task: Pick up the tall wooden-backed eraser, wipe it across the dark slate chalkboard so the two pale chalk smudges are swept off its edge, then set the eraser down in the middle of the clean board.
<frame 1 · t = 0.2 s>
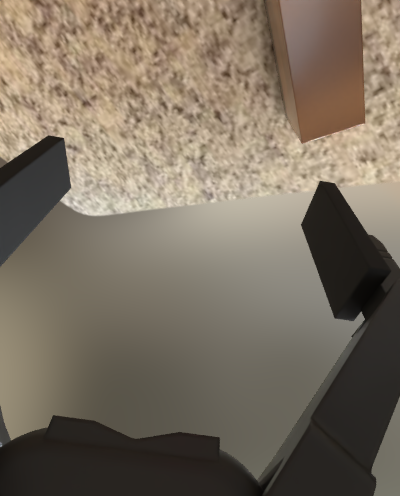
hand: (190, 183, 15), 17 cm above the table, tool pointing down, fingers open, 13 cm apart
eraser: (299, 37, 25), on the table
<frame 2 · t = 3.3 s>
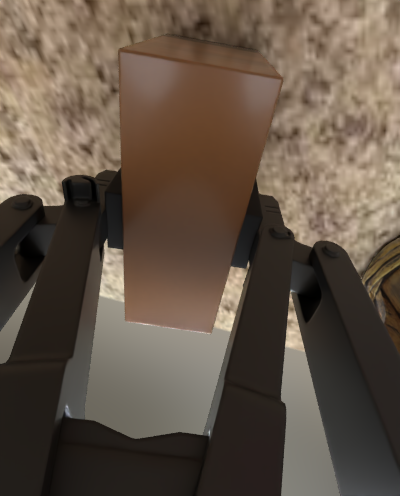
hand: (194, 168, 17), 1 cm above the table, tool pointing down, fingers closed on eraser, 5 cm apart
eraser: (195, 160, 18), on the table, touching gripper
wooden mug: (392, 269, 22), on the table
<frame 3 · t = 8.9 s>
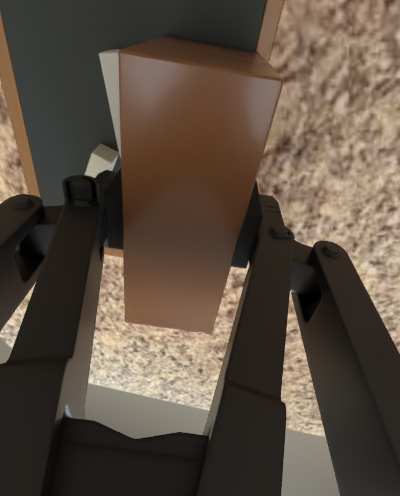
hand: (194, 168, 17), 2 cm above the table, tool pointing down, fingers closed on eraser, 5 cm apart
chalk streak 1: (129, 103, 16), point 1 cm above the table, touching gripper
chalkboard: (133, 141, 19), on the table
eraser: (195, 161, 18), point 1 cm above the table, touching gripper
chalk streak 2: (98, 180, 19), point 1 cm above the table, touching chalkboard
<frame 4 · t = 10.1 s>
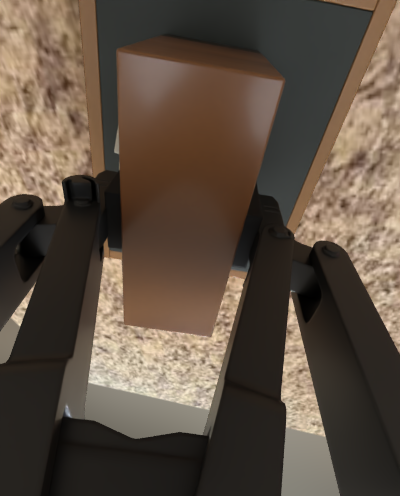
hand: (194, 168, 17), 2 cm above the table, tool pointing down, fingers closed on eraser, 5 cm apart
chalkboard: (206, 156, 19), on the table
eraser: (195, 161, 18), point 1 cm above the table, touching gripper
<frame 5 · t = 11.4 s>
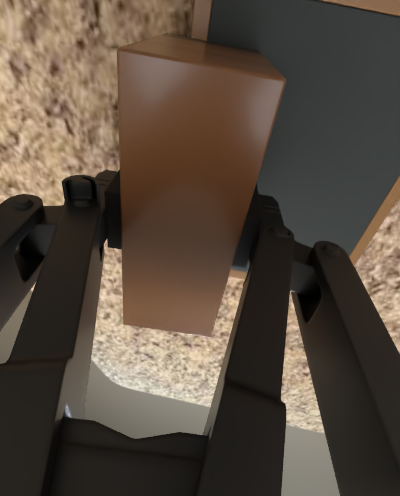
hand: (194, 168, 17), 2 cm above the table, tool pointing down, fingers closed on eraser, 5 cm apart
chalkboard: (287, 170, 19), on the table
eraser: (195, 161, 18), point 1 cm above the table, touching gripper
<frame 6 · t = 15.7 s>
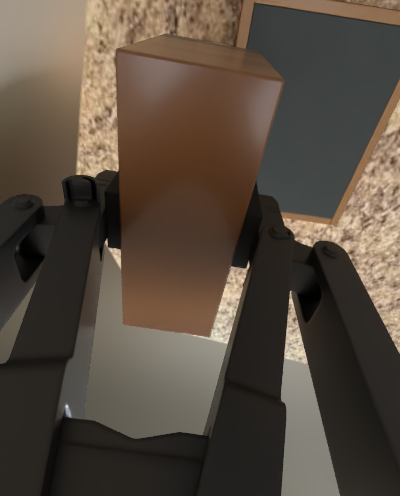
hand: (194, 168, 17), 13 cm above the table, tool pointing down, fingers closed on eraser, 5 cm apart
chalkboard: (298, 128, 27), on the table
eraser: (195, 161, 18), point 12 cm above the table, touching gripper
when the fingers open (2 cm above the table, at t = 19.2 s): eraser stays where it is, resting on chalkboard.
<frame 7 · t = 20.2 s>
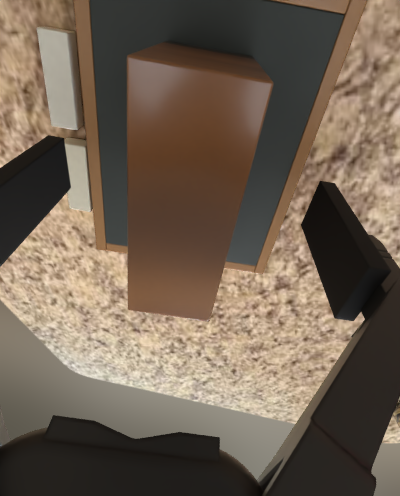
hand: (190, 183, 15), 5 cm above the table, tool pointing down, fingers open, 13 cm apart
chalk streak 1: (76, 84, 17), point 1 cm above the table, tilted 90°
chalkboard: (196, 151, 20), on the table
eraser: (194, 159, 19), point 1 cm above the table, touching chalkboard
chalk streak 2: (91, 178, 21), point 1 cm above the table, tilted 90°
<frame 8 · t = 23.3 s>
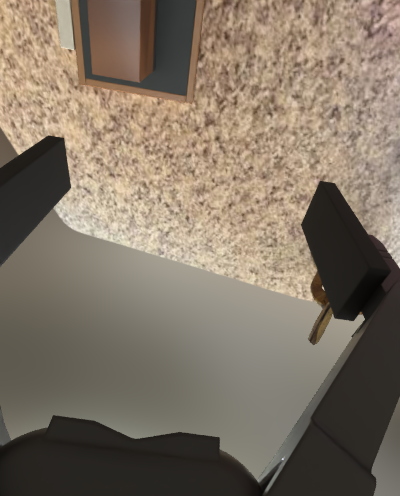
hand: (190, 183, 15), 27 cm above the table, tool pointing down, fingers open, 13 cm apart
chalkboard: (139, 0, 32), on the table
eraser: (136, 0, 31), point 1 cm above the table, touching chalkboard
wooden mug: (326, 251, 51), on the table
chalk streak 2: (73, 23, 33), point 1 cm above the table, tilted 90°
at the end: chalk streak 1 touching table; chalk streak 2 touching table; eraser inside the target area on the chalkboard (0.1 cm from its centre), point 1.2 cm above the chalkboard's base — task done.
